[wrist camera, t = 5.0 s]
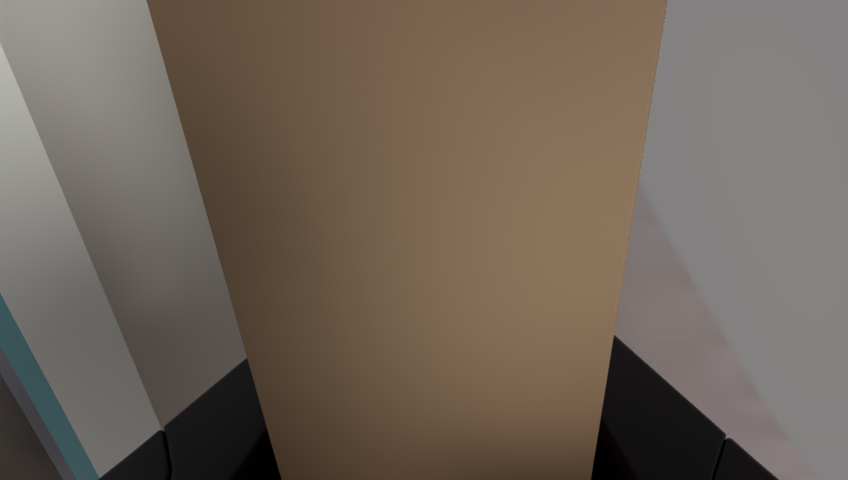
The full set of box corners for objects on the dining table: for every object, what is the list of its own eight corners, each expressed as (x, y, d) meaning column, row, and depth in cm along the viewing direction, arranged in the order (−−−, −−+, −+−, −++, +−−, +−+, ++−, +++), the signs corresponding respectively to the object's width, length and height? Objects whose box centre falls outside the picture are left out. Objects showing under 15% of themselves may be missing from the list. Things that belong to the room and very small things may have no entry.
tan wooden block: (510, 513, 13) (537, 812, 9) (400, 511, 13) (372, 802, 9) (548, -289, 6) (810, -890, 2) (309, -270, 6) (-66, -757, 2)
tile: (299, 307, 19) (206, 537, 12) (236, 307, 19) (107, 534, 12) (217, -113, 12) (-82, -153, 6) (124, -108, 13) (-278, -141, 6)
